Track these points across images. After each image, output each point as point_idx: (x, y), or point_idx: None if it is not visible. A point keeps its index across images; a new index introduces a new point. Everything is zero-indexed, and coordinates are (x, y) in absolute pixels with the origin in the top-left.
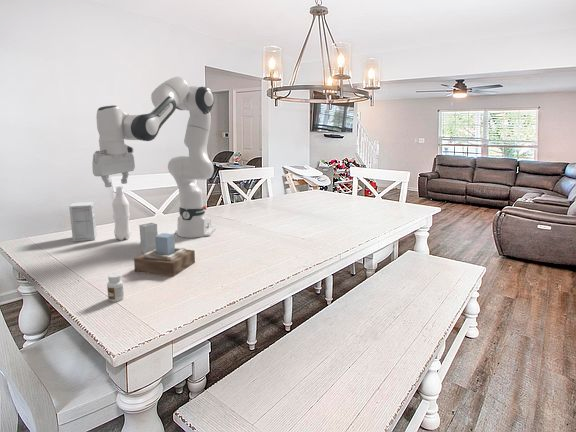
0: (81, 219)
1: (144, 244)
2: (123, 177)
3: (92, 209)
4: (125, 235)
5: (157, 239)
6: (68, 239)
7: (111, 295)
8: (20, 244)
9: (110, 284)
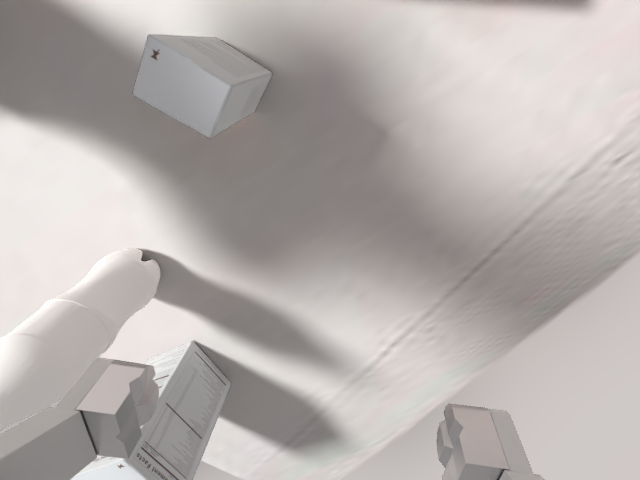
0: (181, 428)
1: (258, 86)
2: (64, 466)
3: None
4: (139, 259)
5: None
6: None
7: None
8: (299, 470)
9: None
